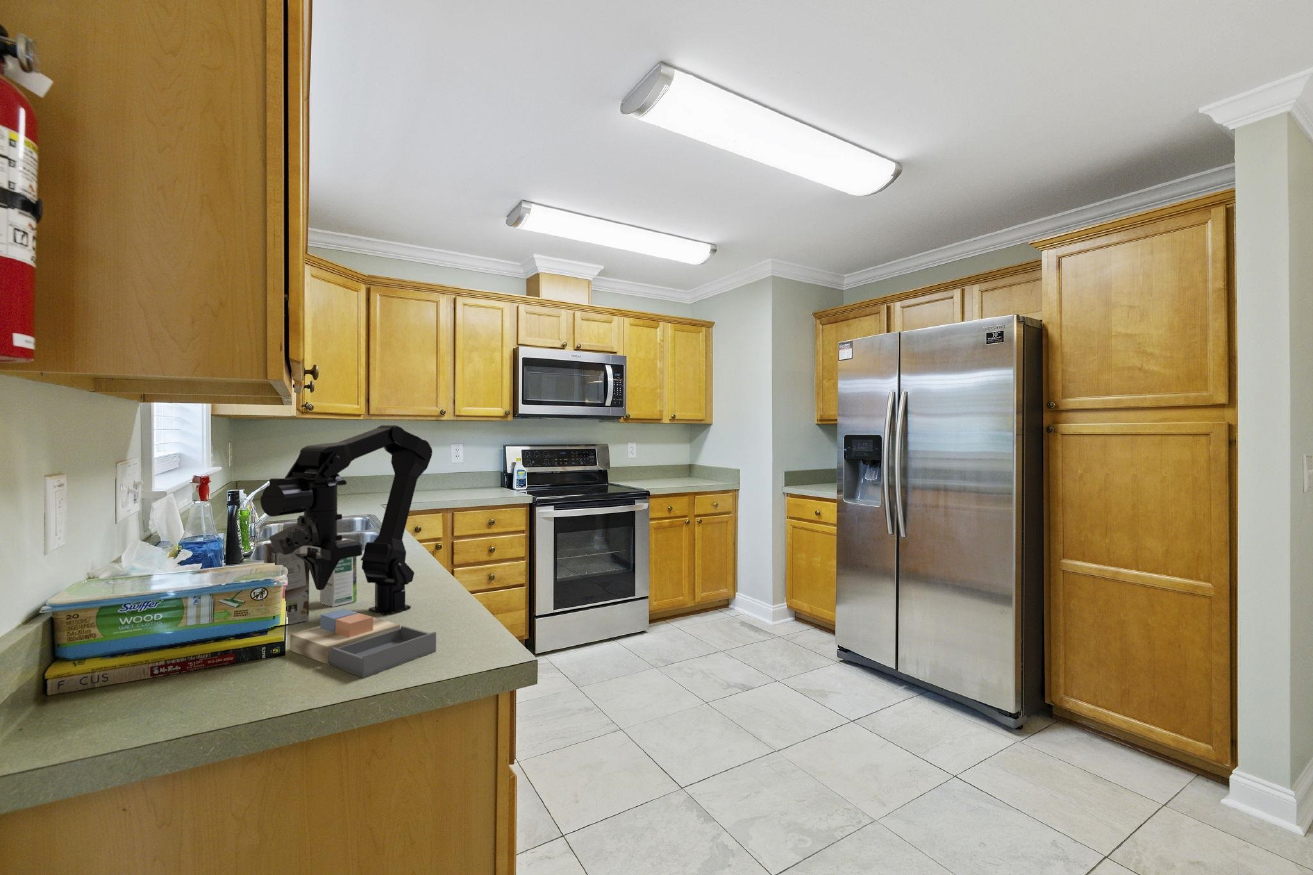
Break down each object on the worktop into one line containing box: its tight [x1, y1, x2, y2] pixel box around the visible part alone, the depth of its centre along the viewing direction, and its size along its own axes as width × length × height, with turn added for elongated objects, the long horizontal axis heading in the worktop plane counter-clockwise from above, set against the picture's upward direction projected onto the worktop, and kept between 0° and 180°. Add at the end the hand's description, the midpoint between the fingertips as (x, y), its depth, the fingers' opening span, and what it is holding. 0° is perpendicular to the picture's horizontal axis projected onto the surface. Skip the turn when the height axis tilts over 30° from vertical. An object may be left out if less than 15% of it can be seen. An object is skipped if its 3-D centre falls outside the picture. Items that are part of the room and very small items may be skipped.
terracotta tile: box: [335, 612, 374, 637], centre depth 109 cm, size 4×4×2 cm
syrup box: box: [319, 538, 358, 608], centre depth 138 cm, size 6×6×14 cm
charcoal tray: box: [328, 625, 437, 678], centre depth 105 cm, size 10×14×4 cm
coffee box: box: [263, 542, 310, 625], centre depth 125 cm, size 9×6×16 cm
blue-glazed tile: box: [319, 608, 358, 632], centre depth 112 cm, size 4×4×2 cm
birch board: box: [289, 616, 401, 665], centre depth 111 cm, size 12×14×3 cm
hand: (320, 589), depth 115 cm, fingers closed
